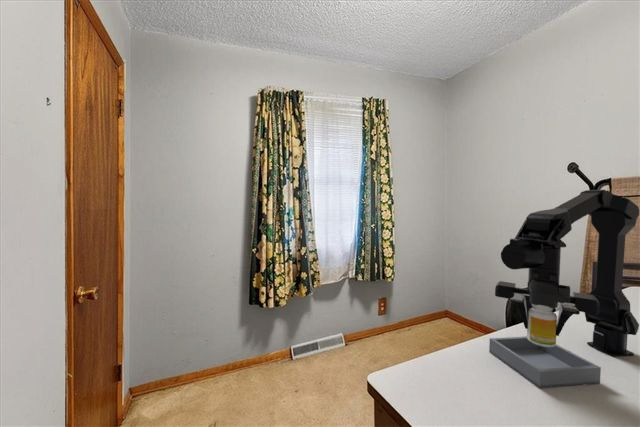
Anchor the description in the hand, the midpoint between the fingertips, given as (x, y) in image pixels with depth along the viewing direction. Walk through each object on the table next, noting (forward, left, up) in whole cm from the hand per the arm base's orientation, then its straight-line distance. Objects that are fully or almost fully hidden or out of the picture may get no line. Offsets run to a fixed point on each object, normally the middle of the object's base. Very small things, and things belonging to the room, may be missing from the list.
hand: (541, 331), depth 67 cm
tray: (0, 0, -8) cm, 8 cm away
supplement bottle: (0, 0, -3) cm, 3 cm away
